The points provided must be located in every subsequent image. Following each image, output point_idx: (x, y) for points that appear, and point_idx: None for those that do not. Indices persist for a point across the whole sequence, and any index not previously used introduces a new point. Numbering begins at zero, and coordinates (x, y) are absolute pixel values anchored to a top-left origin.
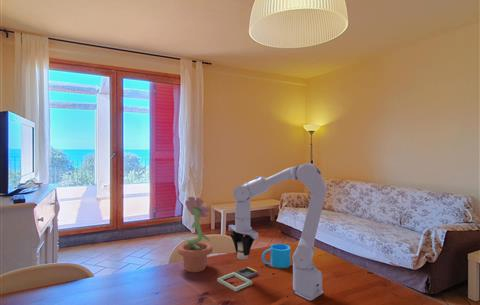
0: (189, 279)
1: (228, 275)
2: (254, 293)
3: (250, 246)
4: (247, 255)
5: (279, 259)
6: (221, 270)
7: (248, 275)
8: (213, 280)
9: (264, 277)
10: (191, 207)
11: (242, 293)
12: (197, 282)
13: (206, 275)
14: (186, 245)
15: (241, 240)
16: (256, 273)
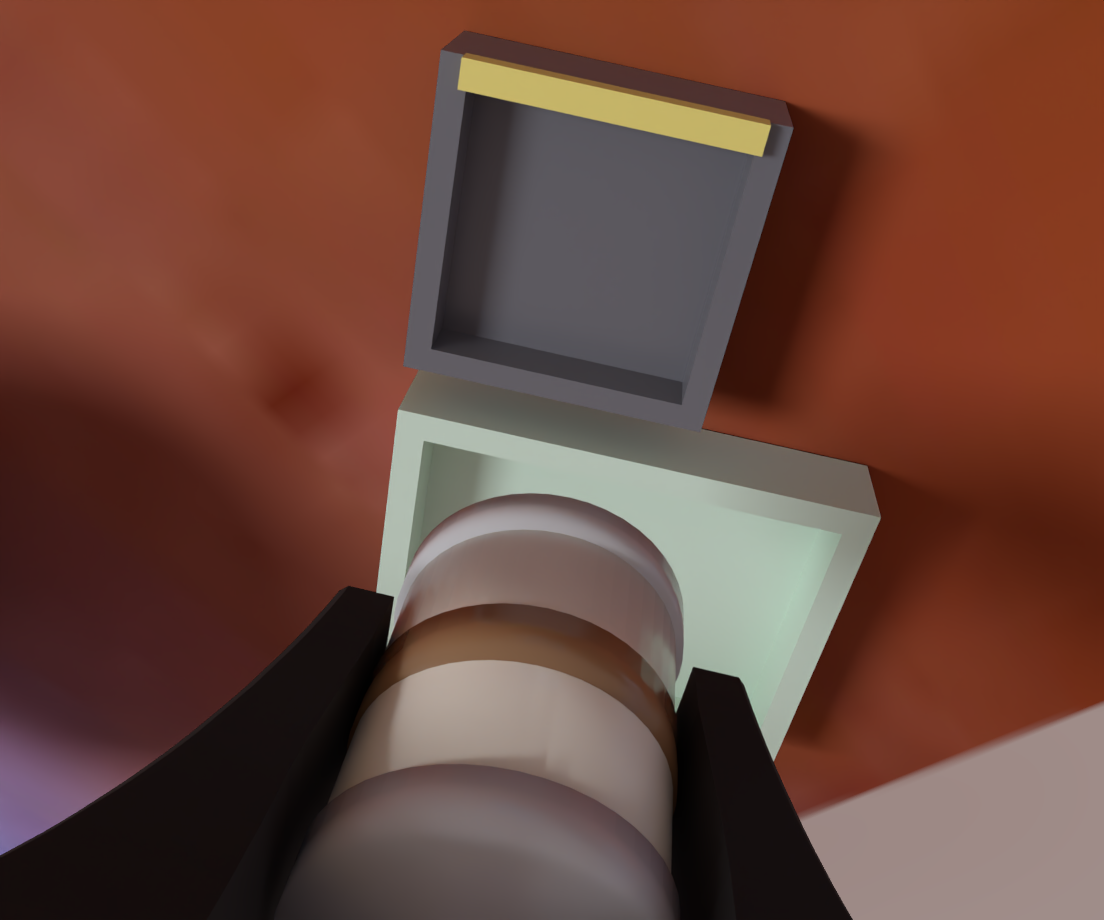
0: (39, 700)
1: (412, 535)
2: (985, 596)
3: (805, 892)
4: (669, 625)
5: None
6: (62, 267)
7: (705, 376)
8: (269, 587)
9: (917, 19)
10: None
11: (829, 664)
12: (173, 710)
13: (72, 527)
14: None
15: (264, 839)
16: (777, 164)
